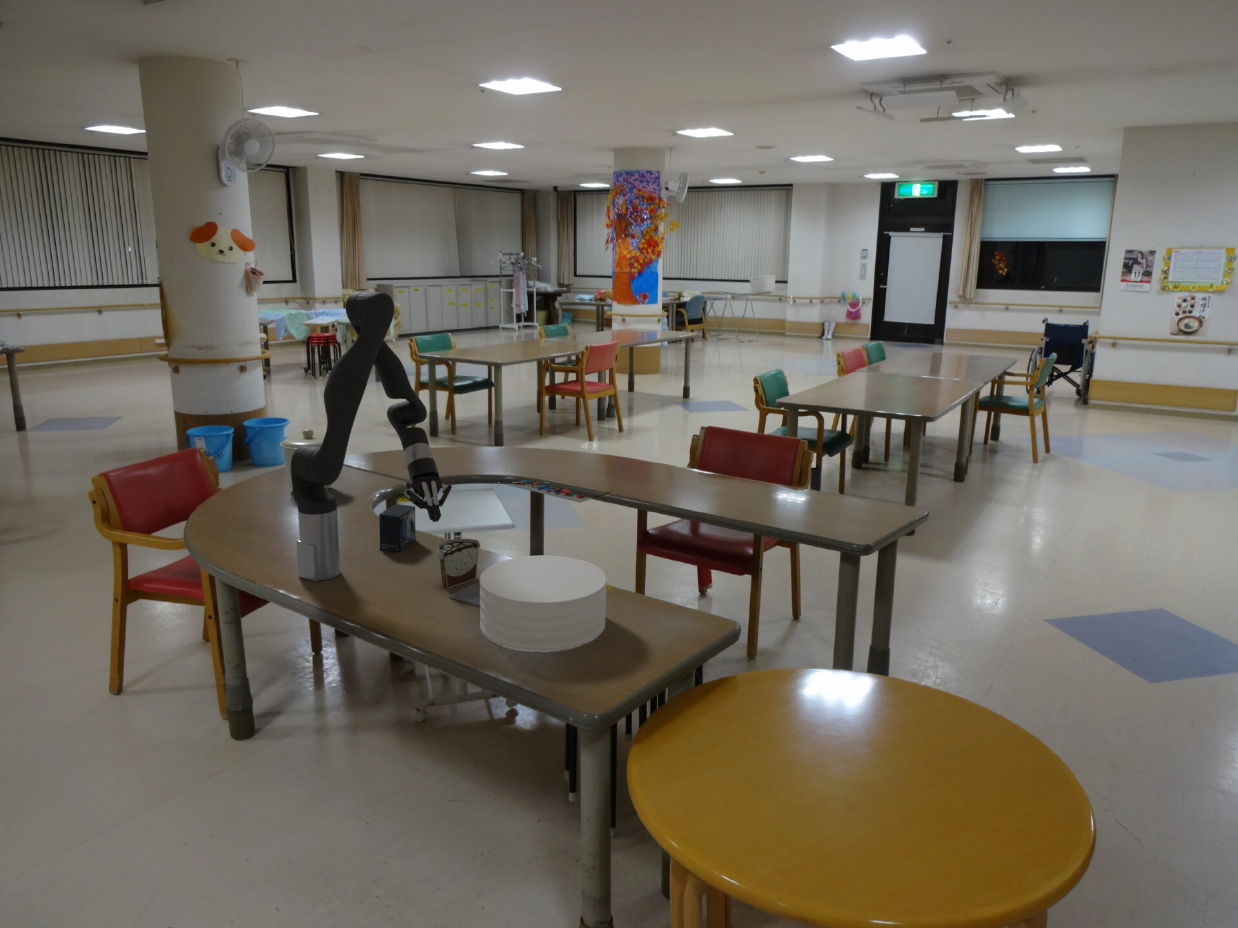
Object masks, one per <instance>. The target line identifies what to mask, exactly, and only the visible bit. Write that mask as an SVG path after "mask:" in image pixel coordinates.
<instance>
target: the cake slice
mask: <svg viewBox="0 0 1238 928" xmlns="http://www.w3.org/2000/svg"><path fill="white" fill-rule="evenodd" d="M479 549H481V544H480V540H477V539H473V538H454V539H453V538H452V539H448V540H446V541H443V542H441V543H440V544H439V545H438V547H437V549H436V555H435V556H436V557H437V558H438V559H439V566H440V575H441V583H442V587H444V588H445V589H447V590H449V589H451V588H454V587H458V586H460V585H462V584H463V585H464V584H466V583H468V582H470V581H474V580H476V579H477V575H478V574H477V571H478V562H479V561H478V558H479Z"/></svg>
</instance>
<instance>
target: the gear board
mask: <svg viewBox="0 0 1238 928" xmlns="http://www.w3.org/2000/svg"><path fill="white" fill-rule="evenodd" d="M524 482H527V480H524V481H523V480H521V481H517V482H512V483H520V484H522V485H509V484H504V485H506V486H510V487H514V488H518V489H523V490H527V491H531V492H535V493H538V494H542V495H547V496H551V497H555V498H558V499H559V498H560V499H564V500H568V501H572V502H576V503H583V502H586V501H589V500H592V499H593V498H588V497H584V496H578V495H577V492H576V494H570V493H569V492H574V491H569V490H567V489H568V488H567V489H562V487H561V488H556V490H554V489H553V490H552V489H551V488H555V487H551V486H550V487H549V488H545V487H548V486H547V485H536V484H539V483H537V482H536V483H533V484H532V485H531V484H527V483H524ZM496 483H498V484H501V483H500V482H496ZM528 485H529V486H528ZM558 490H559V491H558ZM563 491H565V492H563ZM582 495H583V494H582ZM585 496H589V495H587V494H585Z"/></svg>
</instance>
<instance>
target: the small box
mask: <svg viewBox="0 0 1238 928" xmlns="http://www.w3.org/2000/svg"><path fill="white" fill-rule="evenodd" d="M378 515H379V516H378V519H379V523H378V525H379V526H378V528H379V550H380V551H381V550H382V551H389V552H397V553H400V552H401V551H403V550H404V549H406V548H407V547H409V546H410V545H411V544H413V543H414V542H415V541H417V540H416V539H417V538H416V537H417V535H416V532H417V531H416V528H417V527H416V505H414V506H413V505H406V504H401V503H400V504H398V503H395V504H393V505H392V506H390V507H389V508H387V509H385V510H383V511H382V512H380V513H379V514H378ZM408 545H409V546H408Z"/></svg>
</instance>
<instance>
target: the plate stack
mask: <svg viewBox="0 0 1238 928" xmlns="http://www.w3.org/2000/svg"><path fill="white" fill-rule="evenodd" d="M607 579H608V578H607V575H606V573H605V572H604V570H602V569H601V568H600V567H599V566H596V565H595V564H593V563H591V562H588V561H585V560H582V559H579V558H574V557H568V556H561V555H547V554H546V555H527V556H519V557H514V558H510V559H509V558H508V559H505V560H504V559H503V560H502V561H499V562H496V563H494V564H492V565H490V566H488V567H487V568H486V569H484V570H483V571H482V573H481V574H480V576H479V581H480V607H479V617H480V620H479V624H480V625H479V629H480V628H481V629H480V631H481V630H482V632H483V634H485V636H487V637H488V638H489V639H491V640H492V641H495V642H496V643H499V644H501V645H505V646H507V647H512V648H516V649H523V650H539V651H546V650H563V649H570V648H574V647H578V646H580V645H583V644H585V643H588V642H590V641H592V640H593V639H595V638H597V637H598V636H599V635H600V634H601V633H602V632H603V630H604V631H605V629H606V613H607V610H606V607H607V605H606V604H607V597H606V596H607ZM604 628H605V629H604ZM482 632H481V633H482ZM603 633H604V632H603ZM603 633H602V634H603ZM483 634H482V635H483ZM485 636H484V637H485ZM597 639H598V638H597Z"/></svg>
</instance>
